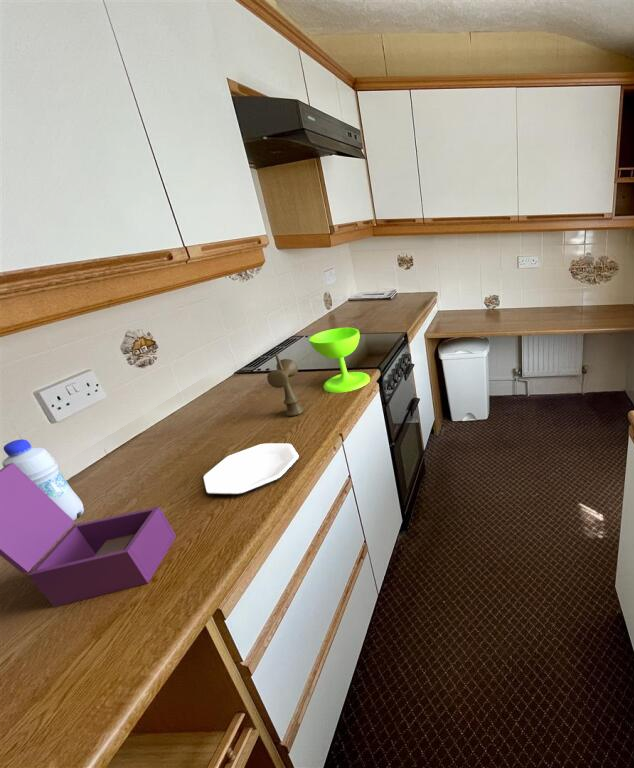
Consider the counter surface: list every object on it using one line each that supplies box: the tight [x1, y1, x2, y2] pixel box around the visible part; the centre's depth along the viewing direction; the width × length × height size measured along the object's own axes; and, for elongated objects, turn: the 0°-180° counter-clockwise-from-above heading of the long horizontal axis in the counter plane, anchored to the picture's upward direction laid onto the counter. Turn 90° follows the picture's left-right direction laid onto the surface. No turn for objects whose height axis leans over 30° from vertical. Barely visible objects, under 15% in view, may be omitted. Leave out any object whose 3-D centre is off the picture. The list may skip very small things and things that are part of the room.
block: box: [94, 534, 135, 557], centre depth 74 cm, size 4×4×4 cm
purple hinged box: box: [27, 506, 177, 608], centre depth 73 cm, size 14×12×8 cm
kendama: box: [266, 353, 305, 417], centre depth 122 cm, size 6×10×20 cm, turn 9°
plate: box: [202, 442, 300, 496], centre depth 100 cm, size 20×20×2 cm
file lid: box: [0, 463, 76, 574], centre depth 67 cm, size 14×12×1 cm
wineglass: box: [308, 327, 371, 394], centre depth 141 cm, size 16×16×18 cm
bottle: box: [1, 438, 85, 521], centre depth 84 cm, size 7×7×20 cm
